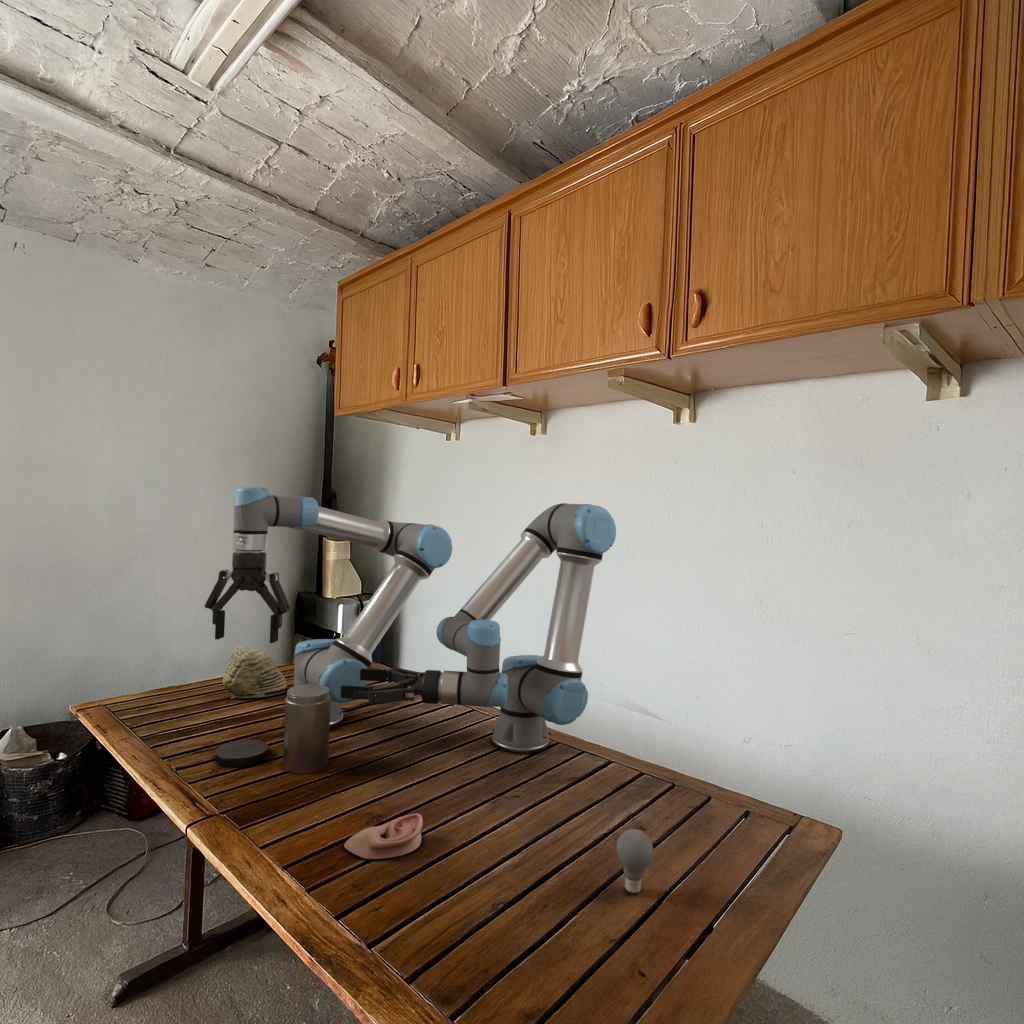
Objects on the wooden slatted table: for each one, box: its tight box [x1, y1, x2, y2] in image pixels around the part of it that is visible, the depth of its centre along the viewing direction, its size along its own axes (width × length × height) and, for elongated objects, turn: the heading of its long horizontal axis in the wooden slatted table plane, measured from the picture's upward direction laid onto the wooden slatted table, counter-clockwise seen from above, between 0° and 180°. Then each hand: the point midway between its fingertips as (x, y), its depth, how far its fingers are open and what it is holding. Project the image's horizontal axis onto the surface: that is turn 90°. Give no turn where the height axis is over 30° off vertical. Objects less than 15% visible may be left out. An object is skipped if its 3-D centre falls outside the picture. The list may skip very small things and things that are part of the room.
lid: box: [215, 739, 270, 768], centre depth 152 cm, size 12×12×2 cm
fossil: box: [222, 646, 288, 699], centre depth 198 cm, size 9×18×15 cm, turn 132°
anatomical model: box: [343, 813, 424, 860], centre depth 117 cm, size 13×4×12 cm
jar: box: [282, 684, 331, 775], centre depth 149 cm, size 10×10×18 cm
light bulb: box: [615, 828, 654, 894], centre depth 106 cm, size 6×6×10 cm
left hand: (246, 640), depth 151 cm, fingers open, 13 cm apart
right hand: (351, 682), depth 148 cm, fingers open, 13 cm apart
